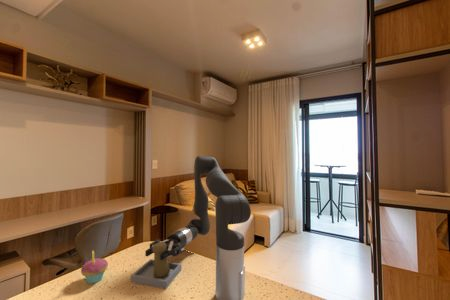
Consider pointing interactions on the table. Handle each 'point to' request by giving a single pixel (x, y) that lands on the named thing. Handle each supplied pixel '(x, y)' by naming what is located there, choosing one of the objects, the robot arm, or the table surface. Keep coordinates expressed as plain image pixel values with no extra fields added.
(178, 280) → the table surface
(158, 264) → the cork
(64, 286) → the table surface
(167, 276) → the gray tray
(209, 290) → the table surface
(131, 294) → the table surface
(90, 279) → the cupcake
